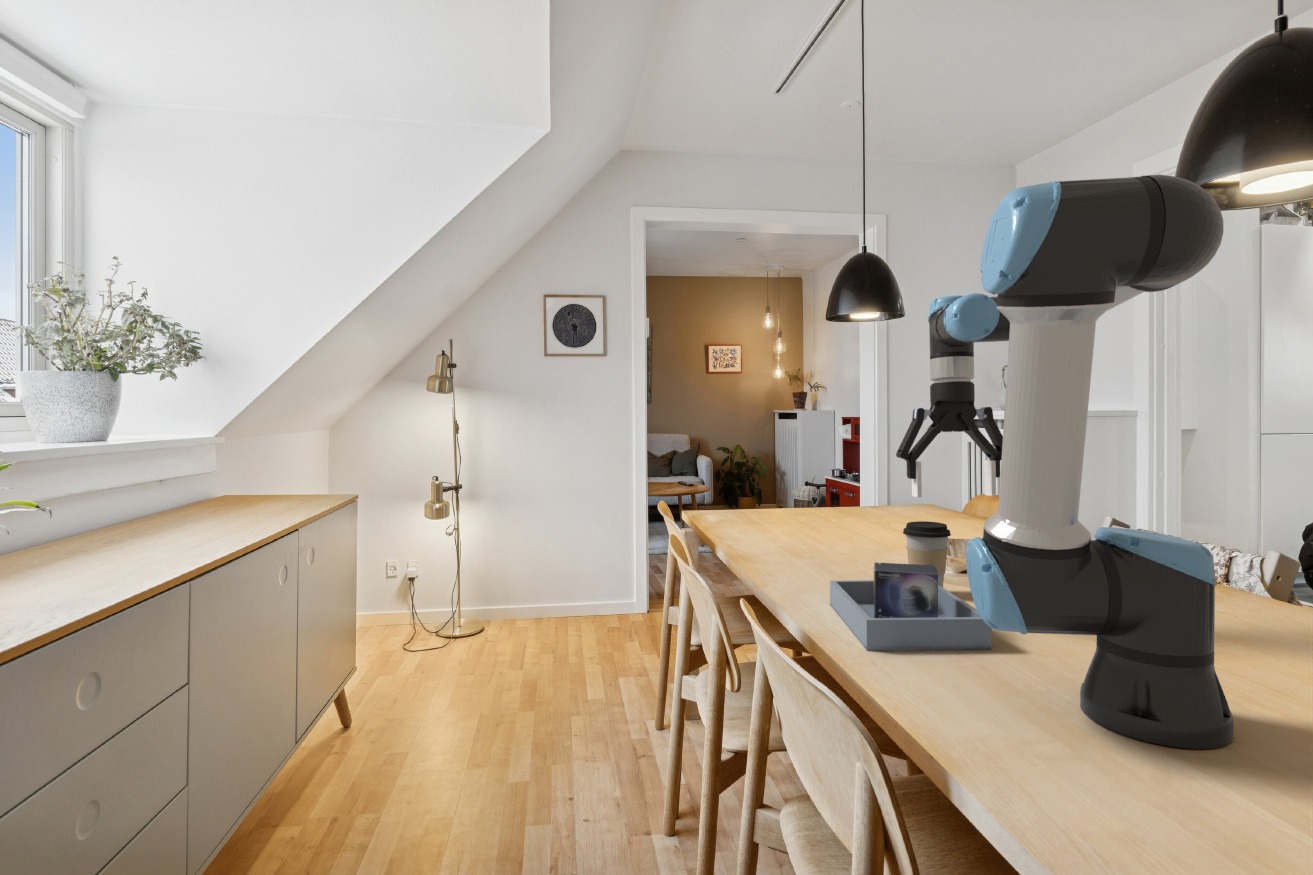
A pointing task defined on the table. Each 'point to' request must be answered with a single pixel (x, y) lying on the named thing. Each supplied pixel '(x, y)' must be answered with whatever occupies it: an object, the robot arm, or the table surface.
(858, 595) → the tray
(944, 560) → the coffee cup
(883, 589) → the small box
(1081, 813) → the table surface
